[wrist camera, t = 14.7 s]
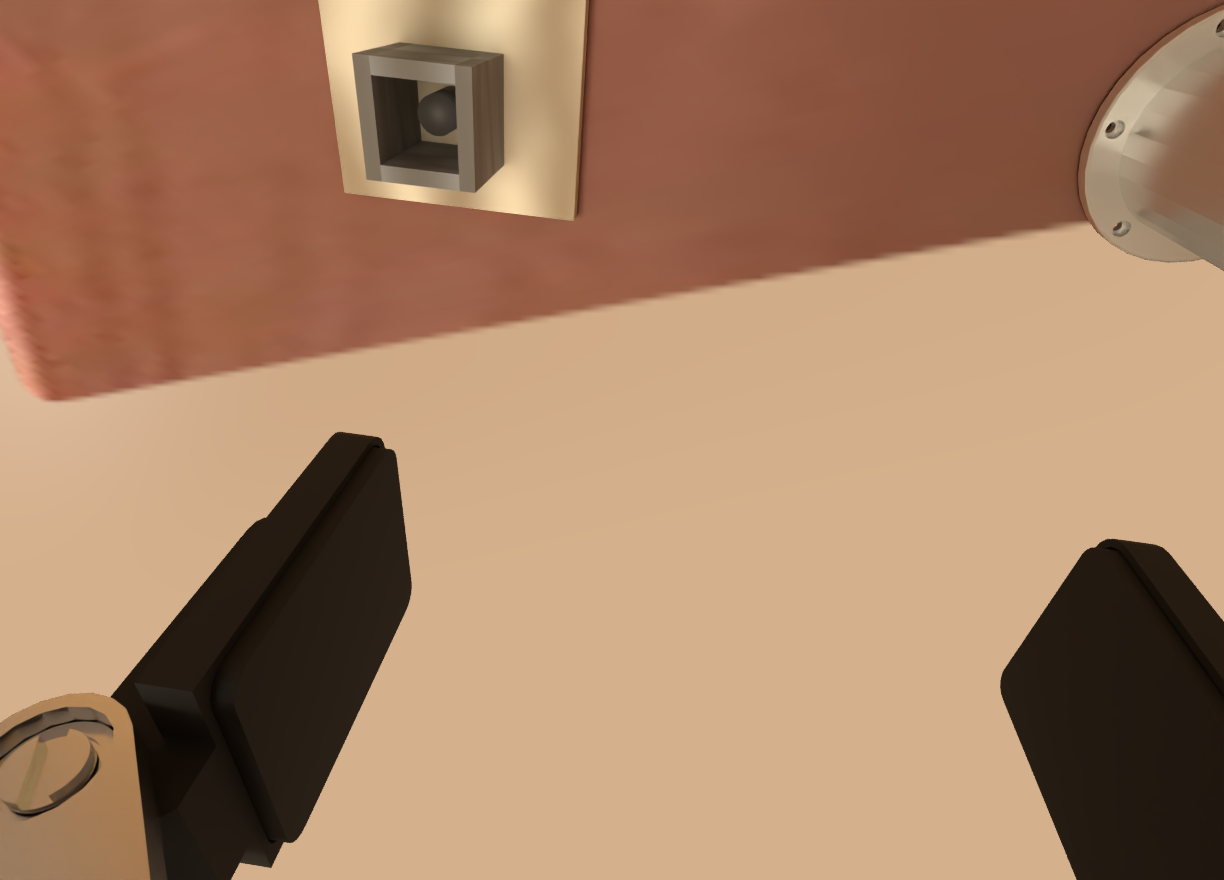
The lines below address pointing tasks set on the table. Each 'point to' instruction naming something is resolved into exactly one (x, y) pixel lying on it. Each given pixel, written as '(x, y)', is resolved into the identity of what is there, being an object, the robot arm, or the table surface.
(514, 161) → the seat plate
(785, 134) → the table surface
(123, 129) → the table surface
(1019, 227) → the table surface
